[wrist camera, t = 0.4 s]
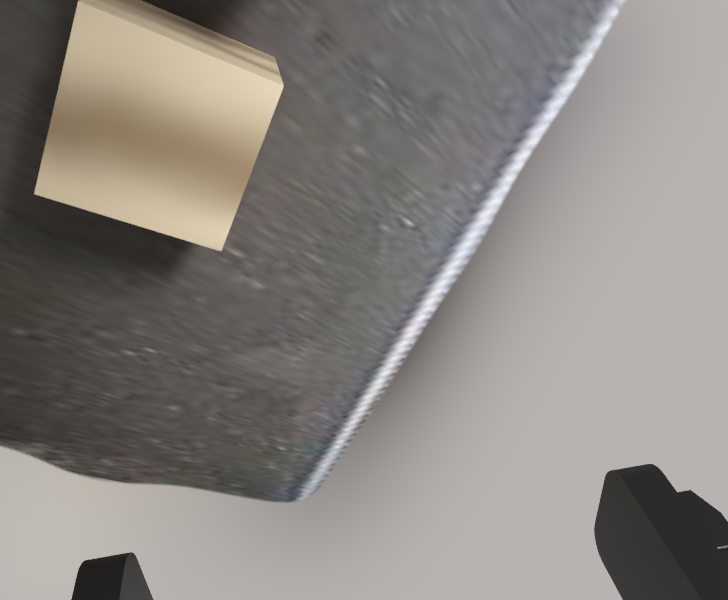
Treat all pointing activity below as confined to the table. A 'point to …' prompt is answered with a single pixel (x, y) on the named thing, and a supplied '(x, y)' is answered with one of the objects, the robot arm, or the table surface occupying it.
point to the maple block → (157, 120)
